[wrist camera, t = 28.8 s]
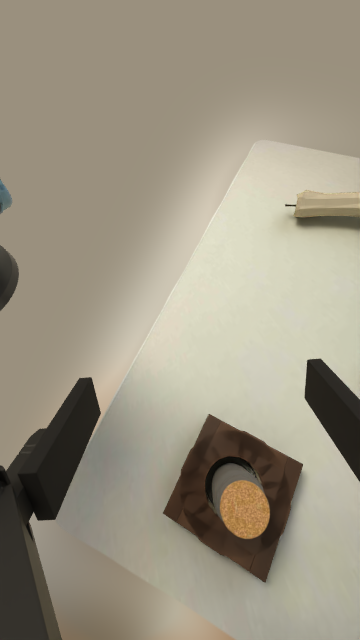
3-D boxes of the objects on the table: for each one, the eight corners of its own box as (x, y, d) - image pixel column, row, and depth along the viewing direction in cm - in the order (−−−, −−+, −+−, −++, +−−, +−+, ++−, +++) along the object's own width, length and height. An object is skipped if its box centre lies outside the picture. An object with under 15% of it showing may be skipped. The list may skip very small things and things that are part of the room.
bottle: (249, 513, 38) (274, 555, 24) (208, 502, 39) (209, 536, 25) (253, 467, 40) (278, 481, 26) (214, 458, 41) (218, 467, 27)
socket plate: (164, 507, 39) (160, 514, 35) (208, 414, 44) (208, 411, 40) (260, 571, 35) (266, 586, 32) (296, 461, 40) (305, 463, 36)
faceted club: (416, 236, 53) (282, 234, 57) (402, 214, 58) (280, 213, 62) (446, 191, 46) (291, 192, 50) (426, 170, 51) (288, 173, 56)
